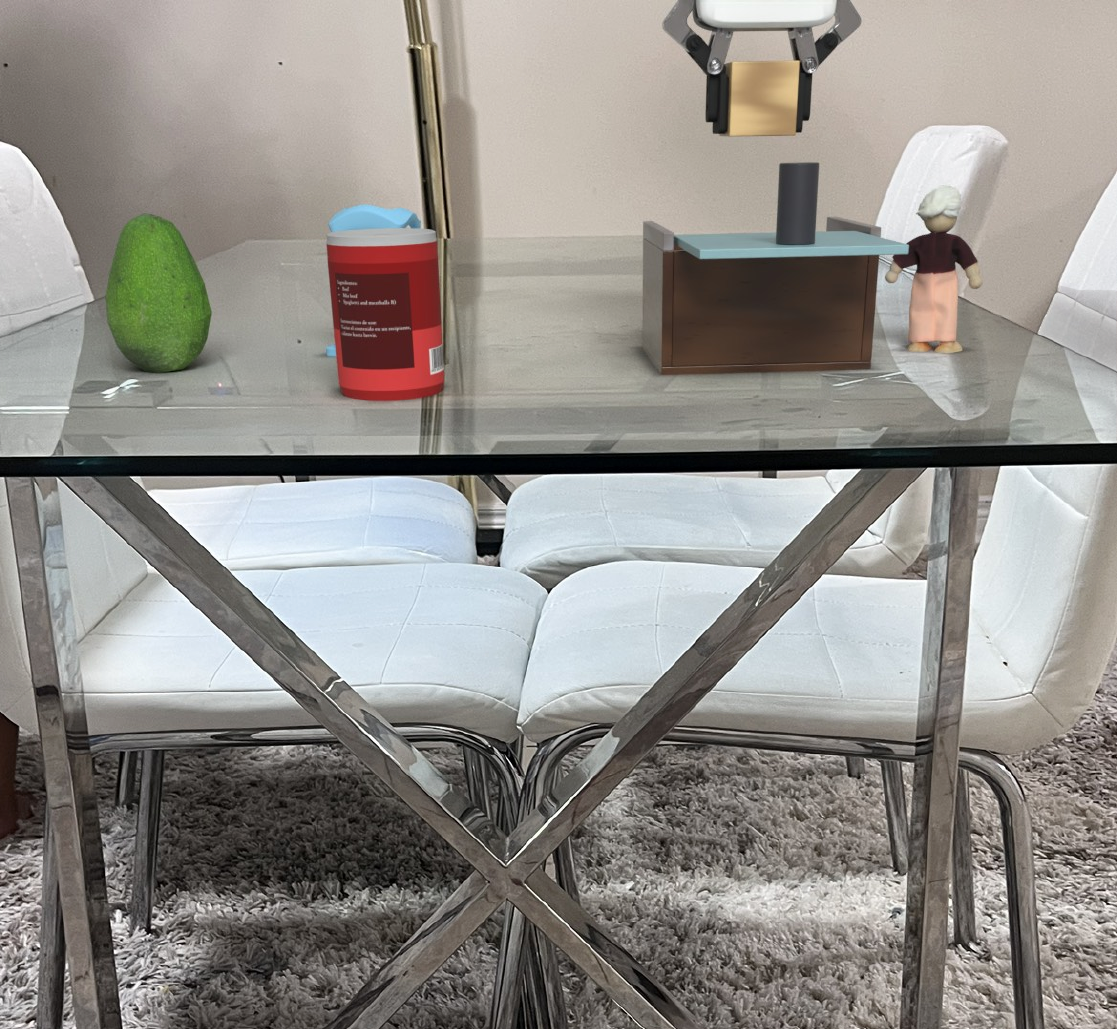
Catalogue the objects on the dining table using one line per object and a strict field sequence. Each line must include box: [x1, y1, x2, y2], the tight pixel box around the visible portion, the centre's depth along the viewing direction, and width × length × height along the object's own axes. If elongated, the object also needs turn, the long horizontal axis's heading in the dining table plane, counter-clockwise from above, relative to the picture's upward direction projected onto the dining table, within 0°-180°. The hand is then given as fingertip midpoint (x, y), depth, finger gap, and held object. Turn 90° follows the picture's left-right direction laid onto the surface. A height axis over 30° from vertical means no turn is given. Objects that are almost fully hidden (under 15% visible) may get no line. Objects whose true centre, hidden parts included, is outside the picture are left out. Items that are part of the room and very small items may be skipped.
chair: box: [325, 204, 422, 357], centre depth 113 cm, size 8×8×12 cm
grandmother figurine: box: [884, 184, 983, 354], centre depth 107 cm, size 8×4×13 cm, turn 72°
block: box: [718, 60, 800, 138], centre depth 101 cm, size 5×5×5 cm
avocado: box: [104, 212, 213, 374], centre depth 105 cm, size 8×8×12 cm
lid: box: [674, 161, 909, 259], centre depth 93 cm, size 14×14×6 cm
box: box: [641, 216, 882, 376], centre depth 106 cm, size 16×14×10 cm
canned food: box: [325, 227, 445, 402], centre depth 94 cm, size 8×8×11 cm
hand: (756, 130), depth 102 cm, fingers closed on block, 5 cm apart
